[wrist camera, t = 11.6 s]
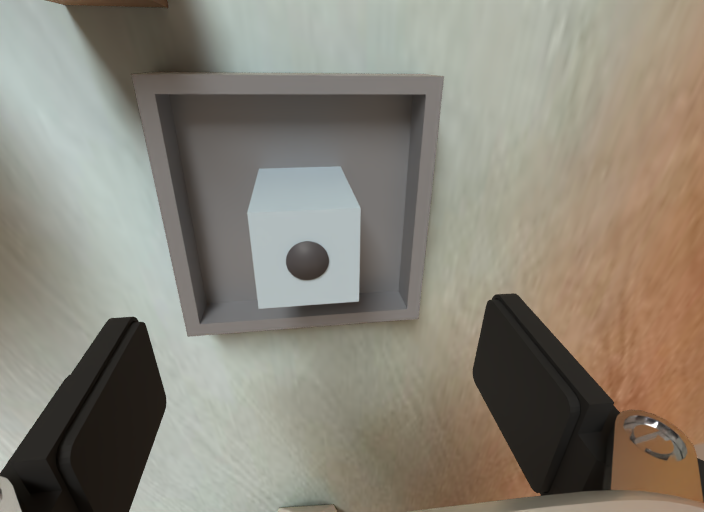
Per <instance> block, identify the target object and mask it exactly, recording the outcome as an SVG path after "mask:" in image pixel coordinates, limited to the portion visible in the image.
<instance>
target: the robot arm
mask: <svg viewBox="0 0 704 512" xmlns="http://www.w3.org/2000/svg"><path fill="white" fill-rule="evenodd" d="M473 378H474V382H475V384H476V386H477V388H478V389H479V391H480V393H481V395H482V397H483V399H484V401H485V402H486V404H487V406H488V408H489V410H490V412H491V414H492V415H493V417H494V419H495V421H496V423H497V425H498V427H499V428H500V430H501V432H502V434H503V436H504V438H505V440H506V442H507V443H508V445H509V447H510V449H511V451H512V453H513V455H514V456H515V458H516V460H517V462H518V464H519V466H520V468H521V469H522V471H523V473H524V475H525V477H526V479H527V481H528V482H529V484H530V486H531V488H532V489H533V490H534V491H535V492H536V493H540V494H541V496H534V497H525V498H516V499H508V500H499V501H491V502H483V503H475V504H466V505H458V506H450V507H442V508H433V509H425V510H417V511H409V512H704V461H703V460H700V459H698V458H697V454H696V451H695V448H694V446H693V444H692V443H691V441H690V440H689V439H688V437H687V436H686V435H685V434H684V433H683V432H682V431H681V430H679V429H678V428H677V427H676V426H674V425H673V424H671V423H670V422H668V421H667V420H665V419H663V418H661V417H659V416H657V415H655V414H652V413H648V412H645V411H641V410H627V411H623V412H621V413H620V412H619V411H618V410H617V409H616V408H615V407H614V405H613V404H614V402H613V400H612V399H611V398H610V397H609V396H608V395H607V394H606V393H605V391H604V390H603V389H602V388H601V387H600V386H599V385H598V384H597V383H596V381H595V380H594V379H593V378H592V377H591V376H590V375H589V374H588V373H587V371H586V370H585V369H584V368H583V367H582V366H581V365H580V364H579V363H578V361H577V360H576V359H575V358H574V357H573V356H572V355H571V354H570V353H569V351H568V350H567V349H566V348H565V347H564V346H563V345H562V344H561V343H560V341H559V340H558V339H557V338H556V337H555V336H554V335H553V334H552V333H551V331H550V330H549V329H548V328H547V327H546V326H545V325H544V324H543V323H542V321H541V320H540V319H539V318H538V317H537V316H536V315H535V314H534V313H533V311H532V310H531V309H530V308H529V307H528V306H527V305H526V304H525V303H524V301H523V300H522V299H521V298H520V297H519V296H518V295H517V294H497V295H494V297H493V298H492V300H489V301H488V302H487V305H486V309H485V314H484V319H483V324H482V328H481V333H480V338H479V343H478V347H477V352H476V357H475V362H474V367H473ZM165 408H166V395H165V391H164V388H163V384H162V381H161V377H160V374H159V370H158V367H157V363H156V360H155V356H154V352H153V349H152V345H151V342H150V338H149V335H148V331H147V328H146V325H145V323H144V322H138V320H137V318H136V317H123V318H111V319H109V320H108V321H107V322H106V324H105V325H104V327H103V328H102V329H101V331H100V332H99V334H98V335H97V337H96V338H95V340H94V341H93V343H92V344H91V346H90V347H89V349H88V350H87V351H86V353H85V354H84V356H83V357H82V359H81V360H80V362H79V363H78V365H77V366H76V368H75V369H74V371H73V372H72V373H71V375H69V376H68V377H67V378H66V379H65V380H64V382H63V383H62V384H61V386H60V387H59V389H58V390H57V392H56V393H55V395H54V396H53V397H52V399H51V400H50V402H49V403H48V405H47V406H46V408H45V409H44V411H43V412H42V413H41V415H40V416H39V418H38V419H37V421H36V422H35V424H34V425H33V427H32V428H31V429H30V431H29V432H28V434H27V435H26V437H25V438H24V440H23V441H22V442H21V444H20V445H19V447H18V448H17V450H16V451H15V453H14V454H13V456H12V457H11V458H10V460H9V461H8V463H7V464H6V466H5V467H4V469H3V470H2V471H1V473H0V512H129V510H130V507H131V505H132V502H133V499H134V496H135V493H136V491H137V488H138V485H139V482H140V479H141V476H142V474H143V471H144V468H145V465H146V462H147V460H148V457H149V454H150V451H151V448H152V446H153V443H154V440H155V437H156V434H157V431H158V429H159V426H160V423H161V420H162V417H163V415H164V412H165Z"/></svg>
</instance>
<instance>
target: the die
mask: <svg viewBox="0 0 704 512" xmlns="http://www.w3.org/2000/svg"><path fill="white" fill-rule="evenodd" d="M277 512H337V510H336V508H335V506H334V504H331V505H315V506H300V507H284V508H279V509H278V511H277Z"/></svg>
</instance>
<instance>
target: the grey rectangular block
mask: <svg viewBox="0 0 704 512" xmlns="http://www.w3.org/2000/svg"><path fill="white" fill-rule="evenodd" d="M247 215H248V224H249V232H250V241H251V249H252V258H253V266H254V274H255V283H256V291H257V300H258V308H259V309H264V308H277V307H291V306H304V305H318V304H331V303H345V302H358V301H359V276H360V217H361V208H360V206H359V204H358V201H357V199H356V197H355V195H354V193H353V191H352V189H351V187H350V185H349V183H348V181H347V179H346V177H345V175H344V172H343V170H342V168H341V166H335V167H300V168H265V169H259V170H258V174H257V178H256V182H255V185H254V189H253V193H252V197H251V200H250V204H249V208H248V212H247Z"/></svg>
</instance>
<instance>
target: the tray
mask: <svg viewBox="0 0 704 512" xmlns="http://www.w3.org/2000/svg"><path fill="white" fill-rule="evenodd" d="M131 75H132V80H133V85H134V89H135V94H136V99H137V103H138V108H139V113H140V117H141V122H142V127H143V131H144V136H145V141H146V145H147V150H148V154H149V159H150V164H151V168H152V173H153V178H154V182H155V187H156V192H157V196H158V201H159V206H160V210H161V215H162V219H163V224H164V229H165V233H166V238H167V243H168V247H169V252H170V257H171V261H172V266H173V271H174V275H175V280H176V284H177V289H178V294H179V298H180V303H181V308H182V312H183V317H184V322H185V326H186V331H187V336H201V335H214V334H227V333H240V332H253V331H266V330H279V329H292V328H305V327H318V326H331V325H344V324H357V323H370V322H383V321H396V320H409V319H419V309H420V299H421V290H422V280H423V271H424V261H425V252H426V242H427V233H428V223H429V214H430V204H431V195H432V185H433V175H434V166H435V156H436V147H437V137H438V128H439V118H440V109H441V99H442V90H443V80H444V76H436V75H427V74H341V73H218V72H147V73H137V74H131ZM335 166H341V168H342V170H343V172H344V175H345V177H346V179H347V181H348V183H349V185H350V187H351V189H352V191H353V193H354V195H355V197H356V199H357V201H358V204H359V206H360V208H361V217H360V276H359V301H358V302H345V303H331V304H318V305H304V306H291V307H277V308H264V309H259V308H258V300H257V291H256V283H255V274H254V266H253V258H252V249H251V241H250V232H249V224H248V215H247V212H248V208H249V204H250V200H251V197H252V193H253V189H254V185H255V182H256V178H257V174H258V170H259V169H265V168H300V167H335Z"/></svg>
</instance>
